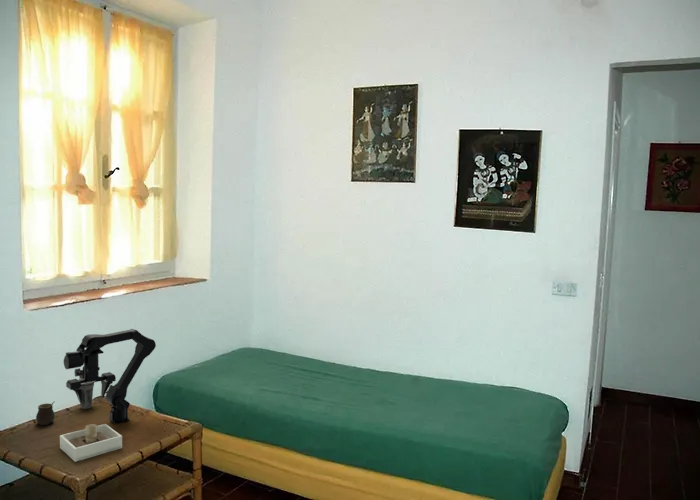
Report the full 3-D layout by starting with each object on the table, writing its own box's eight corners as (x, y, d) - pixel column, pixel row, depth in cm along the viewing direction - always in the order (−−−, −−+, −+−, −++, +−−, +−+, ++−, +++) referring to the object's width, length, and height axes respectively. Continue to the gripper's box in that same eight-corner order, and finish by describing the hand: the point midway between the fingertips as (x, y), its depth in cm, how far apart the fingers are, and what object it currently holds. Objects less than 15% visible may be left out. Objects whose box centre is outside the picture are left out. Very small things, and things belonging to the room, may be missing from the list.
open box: (105, 435, 241) (105, 423, 241) (122, 448, 230) (122, 436, 230) (59, 447, 229) (59, 435, 228) (74, 461, 217) (74, 449, 217)
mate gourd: (38, 420, 255) (38, 398, 254) (57, 419, 256) (57, 397, 255) (33, 426, 248) (33, 404, 247) (53, 426, 249) (53, 403, 248)
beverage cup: (98, 405, 274) (97, 364, 272) (86, 410, 267) (86, 368, 265) (85, 403, 276) (85, 362, 274) (74, 408, 269) (73, 366, 267)
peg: (94, 442, 232) (94, 423, 231) (98, 445, 229) (98, 426, 229) (84, 445, 229) (83, 425, 229) (87, 448, 227) (87, 428, 226)
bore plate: (100, 436, 238) (100, 431, 238) (112, 446, 229) (112, 441, 229) (69, 444, 229) (69, 439, 229) (81, 455, 221) (81, 450, 221)
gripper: (105, 356, 259) (105, 390, 260) (61, 364, 245) (61, 400, 247) (116, 362, 251) (116, 397, 252) (71, 370, 238) (71, 407, 239)
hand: (91, 400), depth 248 cm, fingers open, 9 cm apart
